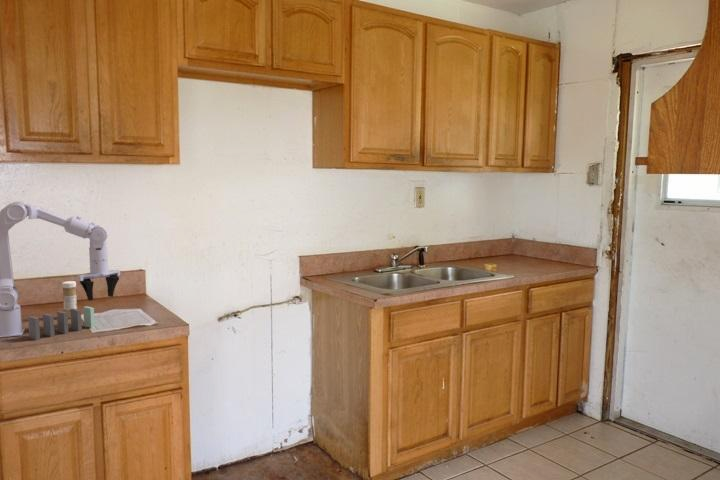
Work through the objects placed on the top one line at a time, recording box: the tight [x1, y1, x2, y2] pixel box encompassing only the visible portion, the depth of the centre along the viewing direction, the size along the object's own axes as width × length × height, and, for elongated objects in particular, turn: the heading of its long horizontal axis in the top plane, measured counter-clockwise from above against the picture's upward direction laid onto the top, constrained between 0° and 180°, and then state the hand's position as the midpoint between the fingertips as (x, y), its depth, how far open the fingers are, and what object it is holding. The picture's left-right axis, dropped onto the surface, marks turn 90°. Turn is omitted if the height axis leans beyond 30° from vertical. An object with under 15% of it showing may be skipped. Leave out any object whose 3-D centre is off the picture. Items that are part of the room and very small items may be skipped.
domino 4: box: [70, 308, 83, 332], centre depth 191 cm, size 1×5×7 cm, turn 53°
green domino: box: [82, 306, 96, 329], centre depth 195 cm, size 1×5×7 cm, turn 54°
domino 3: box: [56, 310, 69, 335], centre depth 187 cm, size 1×5×7 cm, turn 54°
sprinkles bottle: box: [61, 280, 78, 319], centre depth 208 cm, size 5×5×14 cm
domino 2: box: [42, 313, 56, 338], centre depth 184 cm, size 1×5×7 cm, turn 54°
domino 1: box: [27, 315, 41, 341], centre depth 180 cm, size 1×5×7 cm, turn 53°
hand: (100, 298), depth 198 cm, fingers open, 7 cm apart
